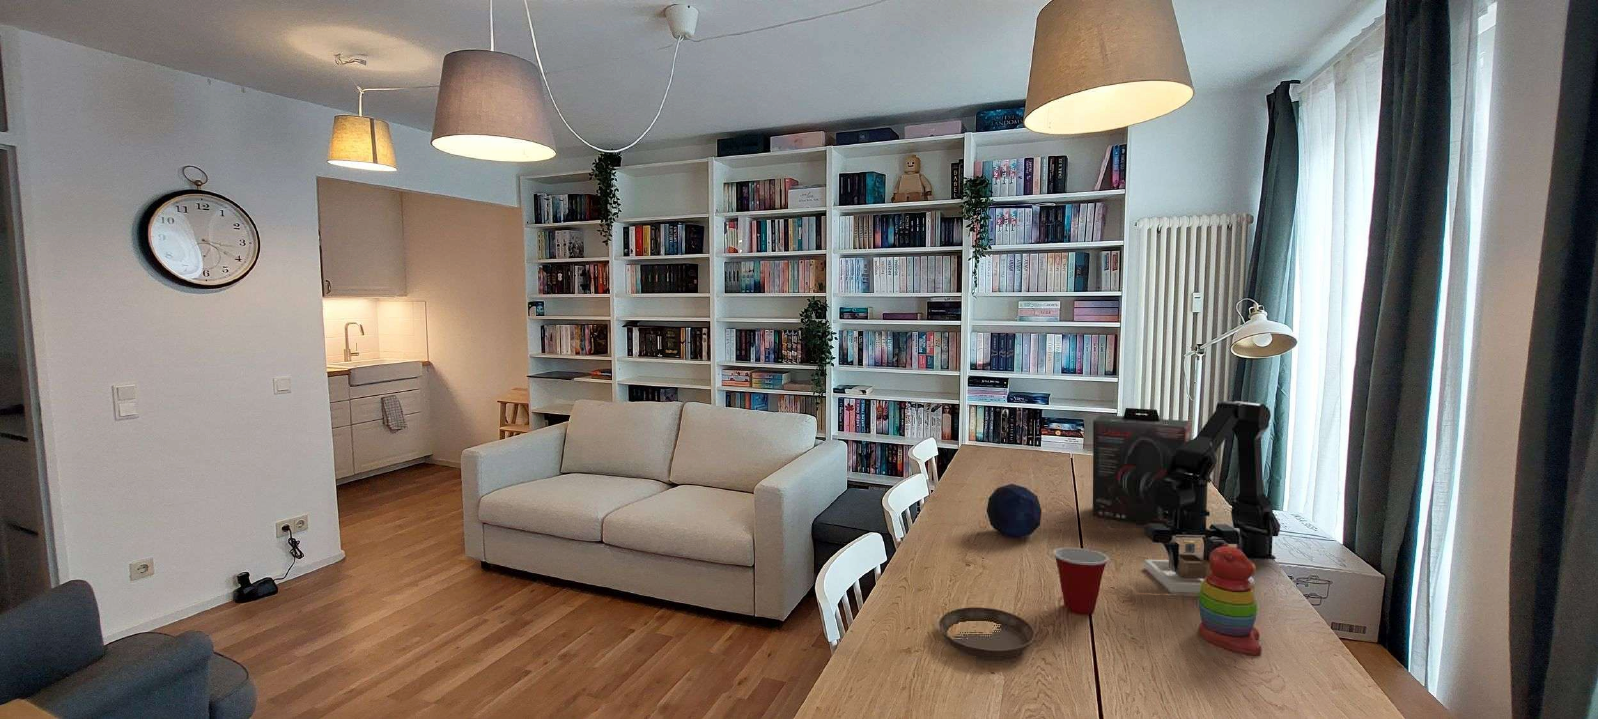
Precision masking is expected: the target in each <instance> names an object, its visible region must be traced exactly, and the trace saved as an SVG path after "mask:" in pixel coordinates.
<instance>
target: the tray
mask: <svg viewBox="0 0 1598 719" xmlns="http://www.w3.org/2000/svg"><path fill="white" fill-rule="evenodd" d="M1144 570H1146V571H1147V572H1148V573H1149V574H1150V575H1152V577H1153V578H1154V579H1156V580H1157V582H1159V583H1160V584H1161V585H1162V586H1163V587H1164V588H1165V589H1166V590H1167V591H1168V592H1169V593H1170V595H1173V596H1174V595H1175V596H1176V595H1177V596H1180V595H1182V596H1199V592H1200V589H1201V586H1202V582H1203V580H1204V579H1197V578H1181V577H1180V576H1179V575H1177V574H1176V573H1175V572H1174V571H1173V570H1172V569H1170V568H1169V559H1144Z"/></svg>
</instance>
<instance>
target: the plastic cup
mask: <svg viewBox="0 0 1598 719" xmlns="http://www.w3.org/2000/svg"><path fill="white" fill-rule="evenodd" d="M1052 555H1053V556H1054V558H1055V561H1056V565H1057V571H1058V575H1059V577H1058V578H1059V582H1060V588H1061V589H1060V590H1061V593H1062V599H1063V604H1064V607H1065V609H1066V610H1067V611H1068V612H1070V613H1073V614H1076V615H1084V616H1087V615H1092V614H1093V613H1095V612H1094V611H1095V609H1096V606H1097V601H1098V598H1099V593H1100V588H1101V582H1102V578H1103V574H1104V570H1105V568H1106V565H1107V563H1108V561H1109V560H1110V559H1109V557H1108V556H1107V555H1106V554H1105V553H1102V552H1099V551H1096V550H1092V549H1088V548H1080V547H1060V548H1055V549H1054V550H1053V551H1052Z"/></svg>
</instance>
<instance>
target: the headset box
mask: <svg viewBox="0 0 1598 719" xmlns="http://www.w3.org/2000/svg"><path fill="white" fill-rule="evenodd" d="M1189 440H1191V421H1190V420H1184V419H1183V420H1182V419H1164V418H1160V415H1159V413H1158V410H1157V409H1154V408H1153V409H1151V408H1135V407H1125V409H1124V413H1123V416H1122V415H1111V414H1110V415H1107V414H1100V415H1099V416H1097V418H1095V419H1094V420H1093V421H1092V517H1094V516H1096V518H1100V519H1101V518H1103V519H1109V520H1115V521H1121V522H1122V521H1123V522H1127V523H1133V524H1134V523H1135V524H1140V525H1146V524H1147V523H1162V524H1163V525H1165V526H1166V527H1167V528H1175V529H1177V527H1176V526H1173V525H1172V524H1167V522H1166V520H1160V519H1159V518H1158V505H1157V503H1156V501H1155V497H1154V494H1155V492H1156V490H1157V488H1158V487H1160V486H1162V485H1164V480H1165V479H1171V478H1167V477H1165V473H1166V471H1167V469H1168V466H1169V464H1170V461H1171V459H1172V457H1173V454H1174V453H1175V452H1176V450H1177V449H1178V448H1179V447H1180V446H1181V445H1182V444H1183V443H1184V442H1187V441H1189ZM1176 472H1180V471H1178V470H1177V471H1176ZM1181 473H1185V472H1181ZM1185 474H1190V473H1185ZM1190 475H1191V474H1190Z"/></svg>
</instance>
